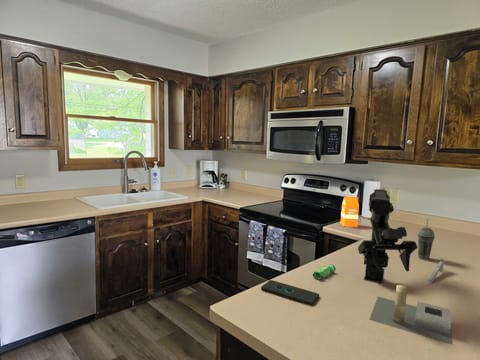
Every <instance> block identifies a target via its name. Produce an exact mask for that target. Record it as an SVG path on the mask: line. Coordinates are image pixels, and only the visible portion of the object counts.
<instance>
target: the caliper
mask: <svg viewBox="0 0 480 360" xmlns="http://www.w3.org/2000/svg"><path fill="white" fill-rule="evenodd" d="M439 259H440V260H439V262H438V264H437V266H436V267H435V269H434V271H433V273H432V274H430V277H429V278H428V281H427V284H429V285H430V284H432V282H433V281H434V280H435V278H436V277H437V275H438V273H440V272H443V270H444V264H445V262H444V261H445V260H444V259H445V258H444V257H440V258H439Z"/></svg>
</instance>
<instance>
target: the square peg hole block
mask: <svg viewBox="0 0 480 360" xmlns="http://www.w3.org/2000/svg"><path fill="white" fill-rule="evenodd" d="M416 307H417V311H416V320H415V326H418V327H421V328H425V329H428V330H432V331H435V332H439V333H442V334H446V335H449V336H450V329H451V330H452V318H451V317H452V316H451V309H449V308H446V307H441V306H437V305H434V304H430V303H427V302H422V301H419V300H418V301H417V302H416Z"/></svg>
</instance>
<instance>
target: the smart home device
mask: <svg viewBox="0 0 480 360" xmlns="http://www.w3.org/2000/svg"><path fill="white" fill-rule="evenodd" d="M260 290H261V291H263V292H266V293H269V294H272V295H274V296H279V297H282V298H284V297H285V299H287V300H291V301H294V302H296V303H297V302H298V303H300V302H301V304H303V303H304V305H308V306H310V307H311V306H313V305H314V304H315V303H316V302H317V301H318V299H319V298H320V293H318V292H315V291H310V290H308V289H305V288H300V287H297V286H294V285H290V284H287V283H283V282H280V281H277V280H273V279H269V280H268V281H267V282H265V283H264V284H263V285H262V286H261V287H260Z"/></svg>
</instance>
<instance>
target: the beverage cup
mask: <svg viewBox="0 0 480 360" xmlns="http://www.w3.org/2000/svg"><path fill="white" fill-rule="evenodd" d="M428 222H429V219H428V218H427V219H426V223H425V224H426V225H425V227H421V228H420V229H419V230H418V233H417V239H418V241H417V243H418V244H417V247H418V248H417V249H418V250H417V251H418V252H417V255H418V256H417V257H418V259H420V260H423V261H429V260H430V257H431V252H432V249H433V248H432V247H433V244H434V240H435V238H436V237H435V232H434V231H433V230H432V229H431V228H429V227H428V224H429V223H428Z"/></svg>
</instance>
